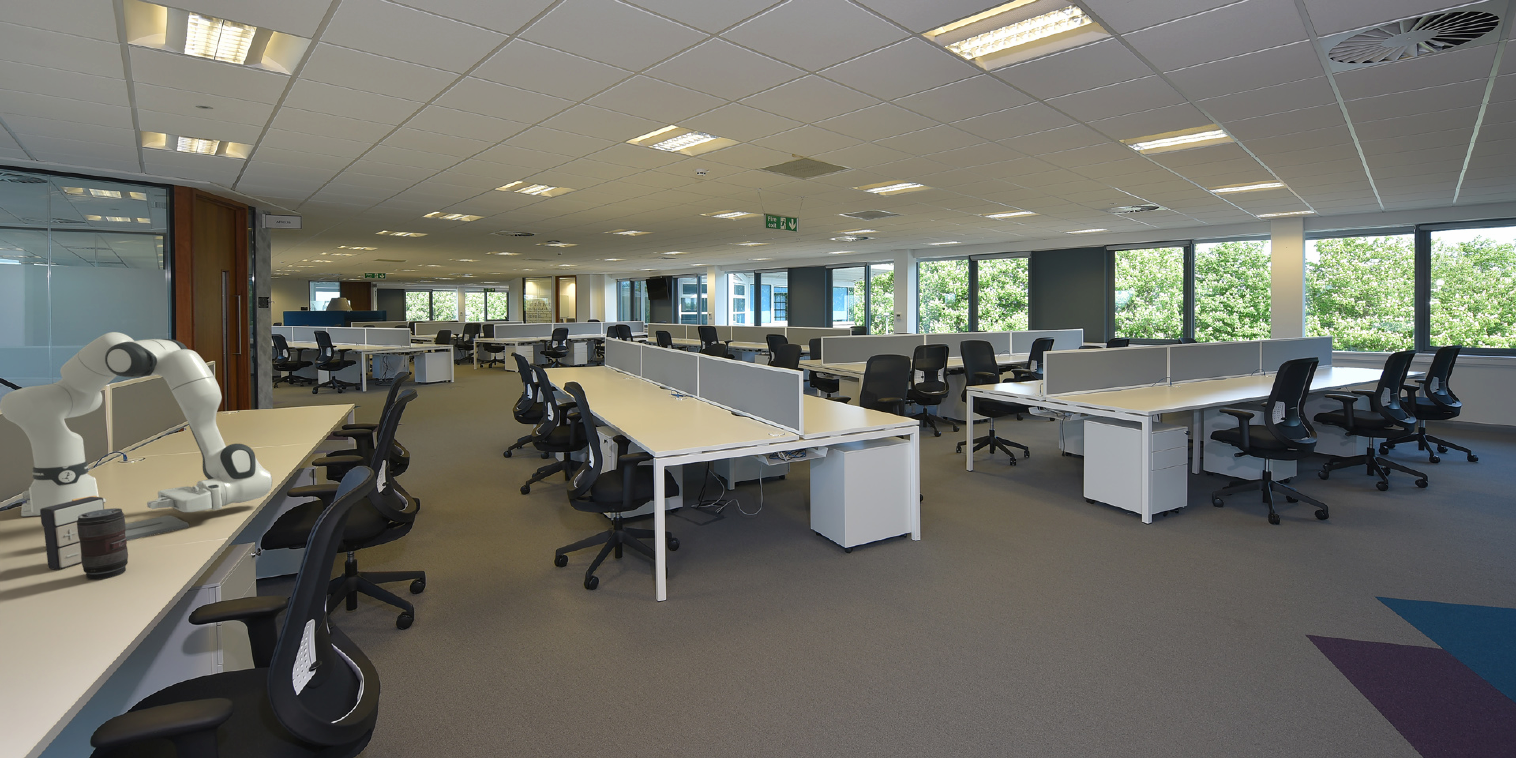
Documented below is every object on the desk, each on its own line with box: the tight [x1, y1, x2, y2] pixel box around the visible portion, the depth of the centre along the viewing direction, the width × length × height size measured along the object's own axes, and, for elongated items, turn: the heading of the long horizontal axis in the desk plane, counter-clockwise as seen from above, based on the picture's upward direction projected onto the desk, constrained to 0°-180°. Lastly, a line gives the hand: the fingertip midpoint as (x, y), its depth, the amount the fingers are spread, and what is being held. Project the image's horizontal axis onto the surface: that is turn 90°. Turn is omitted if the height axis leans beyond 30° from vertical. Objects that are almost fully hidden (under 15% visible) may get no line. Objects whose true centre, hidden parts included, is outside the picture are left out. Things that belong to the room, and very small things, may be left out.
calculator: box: [39, 496, 105, 571], centre depth 168 cm, size 11×4×15 cm, turn 168°
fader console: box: [125, 514, 190, 541], centre depth 189 cm, size 14×24×1 cm, turn 148°
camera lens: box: [77, 507, 129, 581], centre depth 161 cm, size 8×8×15 cm
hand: (148, 505), depth 193 cm, fingers closed
